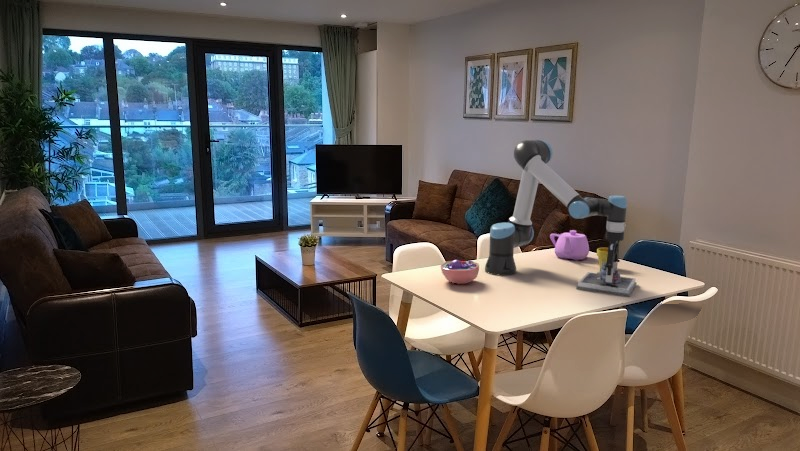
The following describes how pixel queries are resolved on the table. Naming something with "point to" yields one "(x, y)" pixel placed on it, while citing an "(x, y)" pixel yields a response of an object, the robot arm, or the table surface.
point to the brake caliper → (602, 274)
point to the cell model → (460, 271)
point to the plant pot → (602, 255)
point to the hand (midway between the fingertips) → (611, 279)
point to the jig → (606, 285)
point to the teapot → (571, 245)
